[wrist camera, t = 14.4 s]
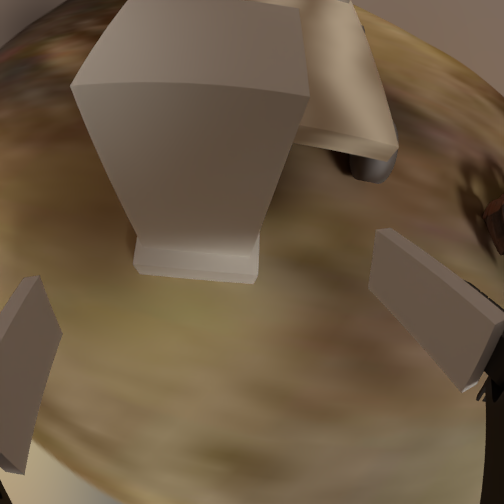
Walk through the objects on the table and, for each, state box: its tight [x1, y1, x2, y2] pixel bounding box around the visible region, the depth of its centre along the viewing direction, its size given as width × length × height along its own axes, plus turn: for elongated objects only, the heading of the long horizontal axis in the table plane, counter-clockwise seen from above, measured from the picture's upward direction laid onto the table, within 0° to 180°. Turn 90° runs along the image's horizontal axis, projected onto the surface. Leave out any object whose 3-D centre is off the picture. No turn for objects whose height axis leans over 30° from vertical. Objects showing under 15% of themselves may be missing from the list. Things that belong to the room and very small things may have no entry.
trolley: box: [246, 0, 399, 184], centre depth 17 cm, size 13×20×19 cm, turn 176°
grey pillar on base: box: [70, 0, 310, 284], centre depth 14 cm, size 7×7×14 cm
